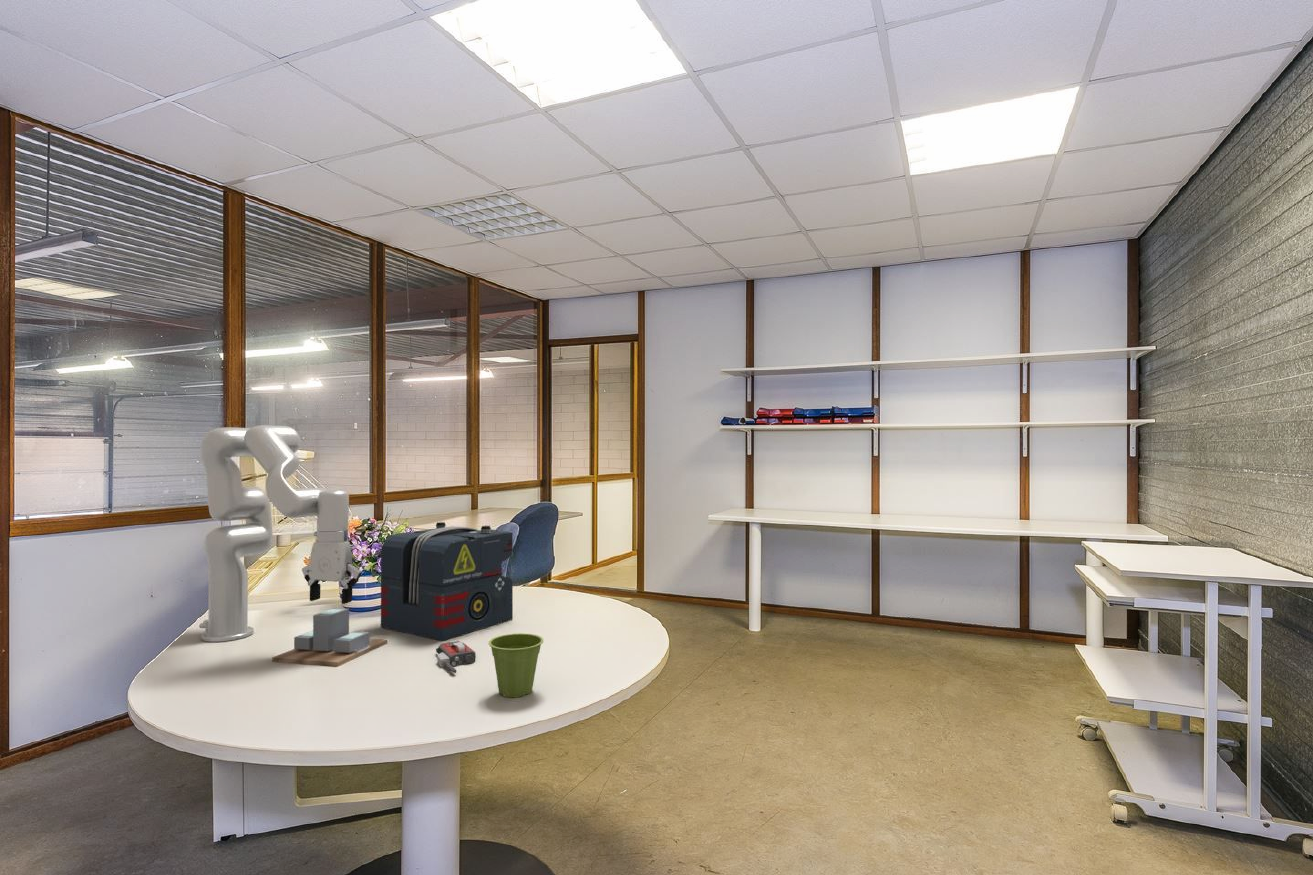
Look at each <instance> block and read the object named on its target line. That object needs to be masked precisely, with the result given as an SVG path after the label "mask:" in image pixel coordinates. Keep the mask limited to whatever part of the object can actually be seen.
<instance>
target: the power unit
mask: <svg viewBox="0 0 1313 875" xmlns="http://www.w3.org/2000/svg"><path fill="white" fill-rule="evenodd" d="M435 527H436V528H431V529H424V530H415V531H413V532H411V531H410V532H407V531H406V532H401V533H394V534H391V535H389V536H387V538H386V539H385V540H384V542H383V543H382V545H381V551H380V628H381V629H385V630H390V631H395V632H400V633H404V634H408V635H414V636H418V637H422V638H427V639H431V640H436V641H441V642H444V641H446V640H450V639H454V638H457V637H459V636H463V635H467V634H469V633H473V632H476V631H480V630H483V629H486V628H489V626H490V627H493V626H495V624H496V625H499V624H501V623H500V622H502V623H504V622H503V621H506V622H509V621H512V620H513V615H514V614H513V612H514V611H513V606H514V604H513V597H514V596H513V594H514V593H513V589H514V588H513V585H514V584H513V582H514V581H513V578H511V577H509V576H505V575H503V567H502V564H503V562H505V561H506V560H508V559H510V558H511V557H512V556H513V550H514V548H513V546H514V545H513V542H514V540H513V531H511V530H504V531H499V530H497V529H492V528H491V526H490V525H482V526H481V527H480V529H477V528H474V527H467V526H454V525H453V526H447V525H446V522H445V521H437V522H436V524H435ZM511 619H512V620H511ZM508 620H509V621H508ZM498 623H499V624H498ZM492 625H493V626H492Z"/></svg>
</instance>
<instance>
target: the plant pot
mask: <svg viewBox="0 0 1313 875" xmlns="http://www.w3.org/2000/svg"><path fill="white" fill-rule="evenodd" d="M543 643H544V638H543V637H542V636H540V635H537V634H532V633H525V632H524V633H522V632H521V633H507V634H502V635H498V636H495V637H493V638H491V639H490V640H488V645H489V647H491V648H490V649H491V654H492V657H493V662H494V668H495V673H496V674H495V675H496V680H497V681H496V682H497V688H498V693H499V694H500V695H502V696H504V697H507V698H519V697H522V696H524V695H529V694H530V693H532V692H533V688H534V683H535V682H534V680H535V676H536V670H537V663H538V657H539V655H540V653H541V652H540V651H541V646H542V644H543Z"/></svg>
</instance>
